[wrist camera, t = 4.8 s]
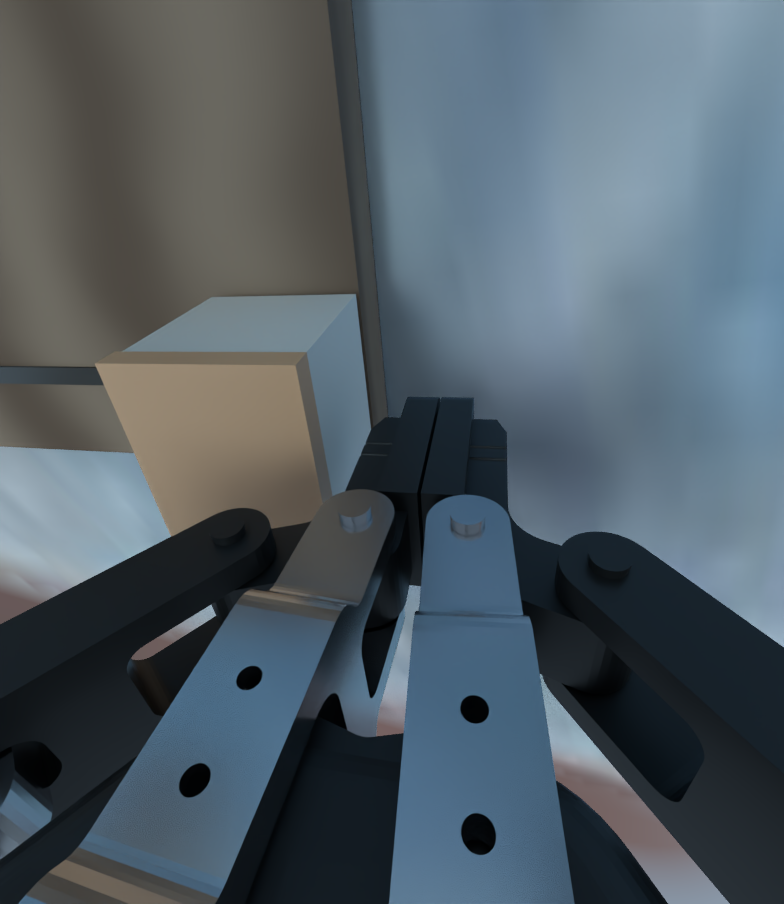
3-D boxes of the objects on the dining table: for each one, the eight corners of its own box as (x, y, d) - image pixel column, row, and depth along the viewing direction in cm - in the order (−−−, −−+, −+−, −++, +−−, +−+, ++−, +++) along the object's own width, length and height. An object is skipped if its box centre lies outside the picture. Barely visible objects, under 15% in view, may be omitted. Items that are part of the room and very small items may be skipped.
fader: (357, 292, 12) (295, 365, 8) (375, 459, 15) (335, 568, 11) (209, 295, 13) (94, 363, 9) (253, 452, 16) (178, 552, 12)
